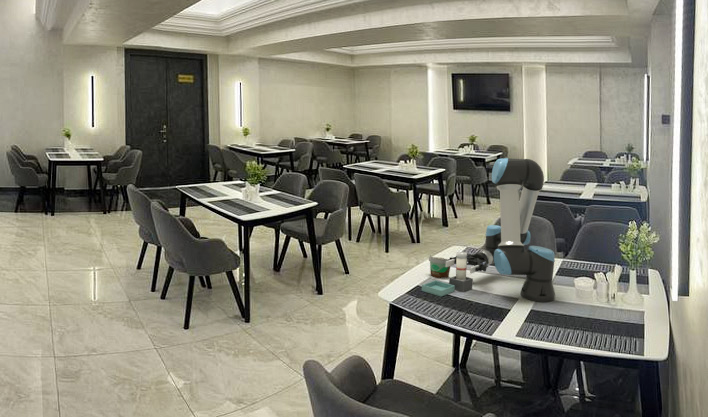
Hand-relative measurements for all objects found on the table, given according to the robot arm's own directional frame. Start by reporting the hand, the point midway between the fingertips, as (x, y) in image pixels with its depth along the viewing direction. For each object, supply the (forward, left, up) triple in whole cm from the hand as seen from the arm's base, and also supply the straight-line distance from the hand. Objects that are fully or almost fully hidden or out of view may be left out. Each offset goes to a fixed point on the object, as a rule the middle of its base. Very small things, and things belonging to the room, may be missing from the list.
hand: (458, 267), depth 276 cm
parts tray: (+5, +8, -11) cm, 15 cm away
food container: (+18, -10, -11) cm, 23 cm away
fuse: (0, -3, -9) cm, 9 cm away
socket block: (0, -3, -11) cm, 11 cm away
